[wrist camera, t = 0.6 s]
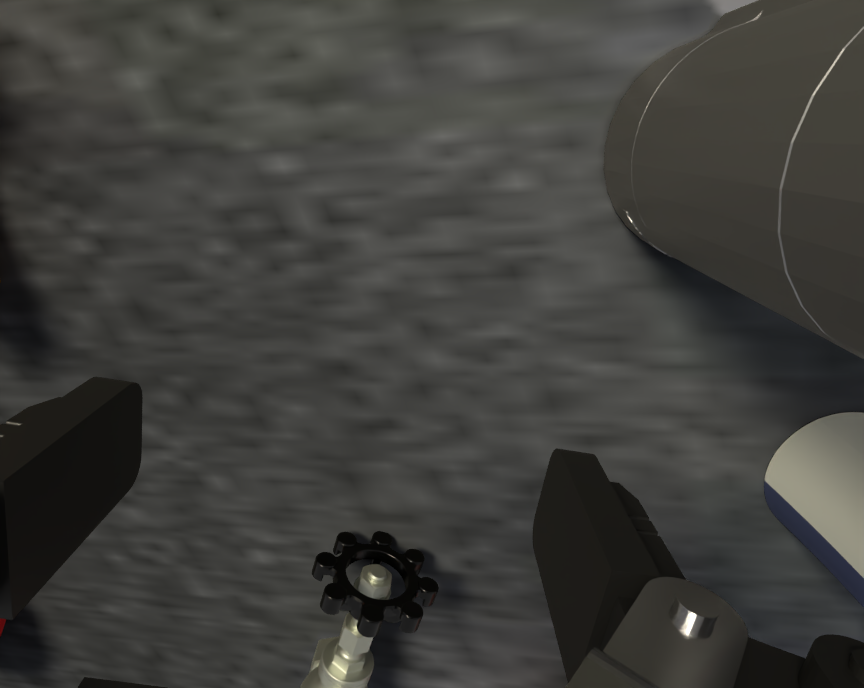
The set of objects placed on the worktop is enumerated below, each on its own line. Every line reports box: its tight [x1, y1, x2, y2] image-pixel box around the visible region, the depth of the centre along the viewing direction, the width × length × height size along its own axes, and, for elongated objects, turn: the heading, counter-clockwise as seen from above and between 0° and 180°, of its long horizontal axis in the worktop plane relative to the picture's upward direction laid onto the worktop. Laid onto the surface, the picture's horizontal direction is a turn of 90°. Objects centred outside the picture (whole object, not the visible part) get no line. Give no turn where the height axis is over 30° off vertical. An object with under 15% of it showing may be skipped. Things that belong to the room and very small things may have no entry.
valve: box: [300, 531, 439, 688], centre depth 32 cm, size 7×7×12 cm
